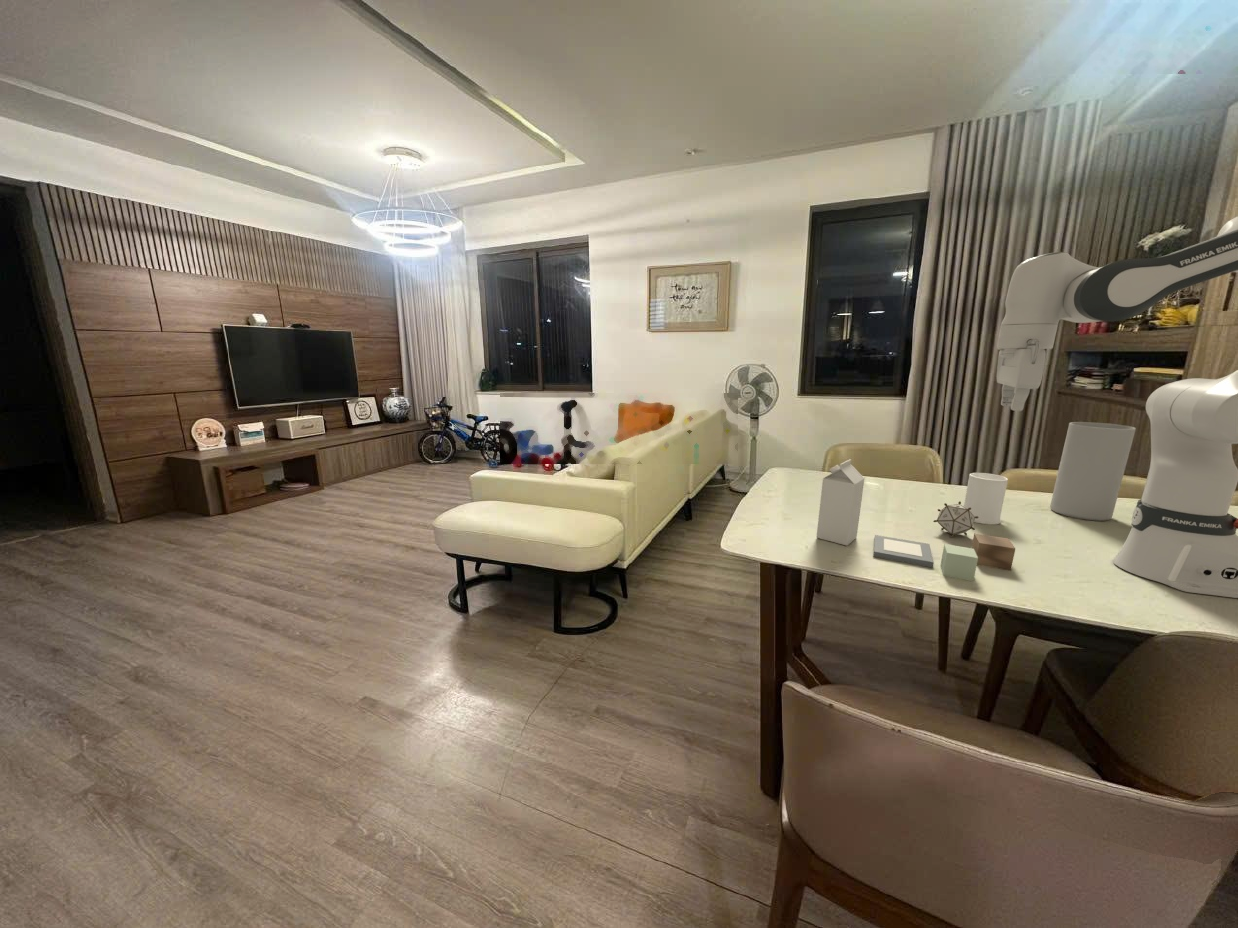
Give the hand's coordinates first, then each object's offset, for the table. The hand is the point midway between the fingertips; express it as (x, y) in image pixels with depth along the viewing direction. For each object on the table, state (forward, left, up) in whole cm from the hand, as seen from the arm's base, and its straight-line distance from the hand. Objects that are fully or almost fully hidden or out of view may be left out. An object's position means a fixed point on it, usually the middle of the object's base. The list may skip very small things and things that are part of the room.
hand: (1011, 408), depth 98 cm
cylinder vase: (-29, -45, -33) cm, 63 cm away
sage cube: (+6, +16, -33) cm, 37 cm away
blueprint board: (+16, +10, -32) cm, 37 cm away
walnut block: (-1, +6, -33) cm, 33 cm away
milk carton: (+30, +8, -33) cm, 45 cm away
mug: (-5, -27, -33) cm, 43 cm away
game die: (+4, -9, -33) cm, 34 cm away
